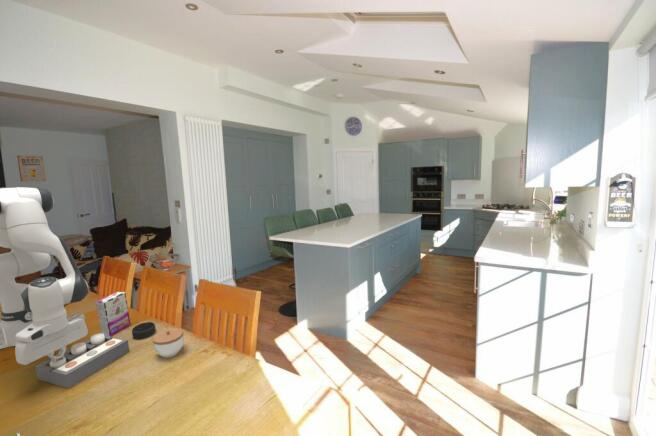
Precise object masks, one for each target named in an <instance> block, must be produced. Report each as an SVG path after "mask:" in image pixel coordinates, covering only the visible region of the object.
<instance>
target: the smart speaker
mask: <svg viewBox="0 0 656 436" xmlns="http://www.w3.org/2000/svg"><path fill="white" fill-rule="evenodd" d="M156 331H157V329H156V324H155V323H154V322H151V321H150V322H149V321H147V322H141V323H139V324H137V325H135V326H134V327H133V328H132V329H131V334H132V338H133V339H135V340H141V339H142V340H143V339H146V338H149V337H151V336H153V335H154V334H155V333H156Z"/></svg>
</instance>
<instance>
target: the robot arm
mask: <svg viewBox="0 0 656 436" xmlns="http://www.w3.org/2000/svg"><path fill="white" fill-rule="evenodd" d="M54 202H55V200H54V196H53V194H52V192H51V191H50V190H49V189H48V188H45V187H21V186H19V187H17V186H14V187H2V188H0V247H1V248H5V249H11V250H10V251H9V252H4V253H0V307H1V311H0V350H2V349H6V348H11V347H15V348H14V352H15V359H16V362H17V364H19V365H24V366H27V365H29V364H31V363H34V362H35V361H37V360H39V359H42V358H44V357H45V356H47V357H48V358H50V359H51V361H52V363H56V362H58V361H60V360H62V359H64V353H65V351H67V346H68V345H70V344H72V343H74V342H77V341H78V340H80V339H83V338H84V337H87V336H88V333H89V330H88V327H87V324H86V322H85V321H86V318H85V314H83V313H79V312H77V313H75V314H73V315H71V316H68V313H67V310H66V308H65V305H64V304H66V305H68V304H74V303H75V304H76V303H78V302H79V303H80V302H82V301H83V300H84V299H85V298H86V297H87V296H88V294H89V292H90V291H89V289H90V288H89V284H88V282H87V280H86V279H85V278H84V277H83V274H82V272H81V271H80V268H79V267H78V264H77V263H76V260H75V258H74V255H72V252H71V250H70V248H69V246H68V244H67V243H66V241H65V240H64V239H63V237H61V236H57V235H56V234H54V233H53V232H52V231H51V229H50V226H49V224H48V219H47V216H46V213H49V212H50V211H51V210H52V209H53V208H54ZM51 255H52V256H54V257H55V258H57V259H58V261H59V262H60V265H61V267H62V269H63V271H64V273H65V275H66V276H65V277H64V278H60V279H59V278H56V277H55V276H44V277H39V278H36V279H34V280H32V281H31V282H29V283H20V282H19V283H18V282H16V280H15V278H18V277H22V276H25V275H26V276H27V275H31V274H35V273H37V272H39V271H42V270H44V269H47V268H48V267H49V266H50V263H51V260H52V258H51ZM58 350H59V352H58V353H57V354H56V355H55V352H56V351H58Z"/></svg>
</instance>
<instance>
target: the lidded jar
mask: <svg viewBox="0 0 656 436" xmlns="http://www.w3.org/2000/svg"><path fill="white" fill-rule="evenodd" d="M184 337H185V335H184V330H183V329H182V328H179V327H172V328H171V327H170V328H167V329H164V330H161V331H159V332H157V333H156V334H155V335H154V336H153V337H152V343H153V347H154V350H155V352H156V354H158V355H159V356H161V357H162V358H166V359H167V358H171V357H174V356H176V355H178V353H180V350H181V349H182V348H183V346H184V340H185V339H184Z"/></svg>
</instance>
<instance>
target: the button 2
mask: <svg viewBox="0 0 656 436" xmlns="http://www.w3.org/2000/svg"><path fill="white" fill-rule="evenodd" d="M84 342H85V341H83V342H77V343H75V344H73V345H72V346H71V347H70V349H71V353H72V355H75V356H77V357H78V356H80V355H82V354H84V353H86V352H87V349H86V343H84Z"/></svg>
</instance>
